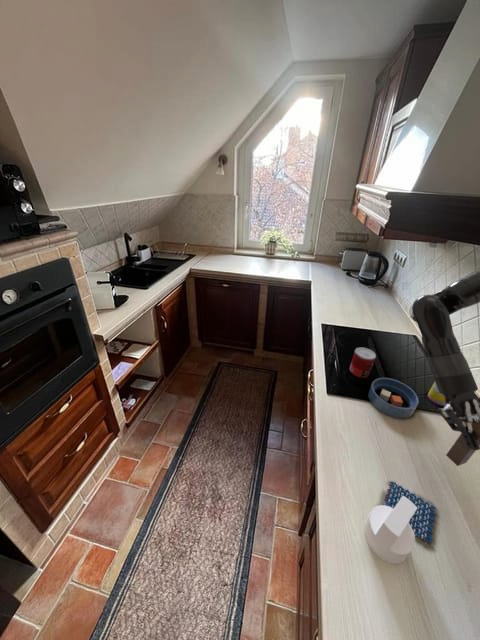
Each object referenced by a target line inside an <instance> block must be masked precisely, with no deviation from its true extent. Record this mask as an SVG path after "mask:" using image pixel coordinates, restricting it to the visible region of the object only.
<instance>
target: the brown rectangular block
mask: <svg viewBox="0 0 480 640" xmlns="http://www.w3.org/2000/svg"><path fill="white" fill-rule="evenodd" d="M471 424H472V428H473V433H474V434H475V437H476V439H477V441H478V444H479V446H480V424H479V423H478V422H474V423H471ZM476 451H477V450H473V449H469V448H468V447H467V445H466V443H465V440H464V438H463V435H462V433H461V432H460V434H459V436H458V437H457V439H456V440H455V441H454V443H453V445H452V446H451V447H450V449H449V450H448V452H447V453H446V454H445V456H446V457H447V458H448V459H449V460H450V461H451V462H452V463H454V465H456V466H457V467H459V466H462V465H465V464H466V463H467V462H468V461H469V460H470V459H471V458H472V457H473V455H474V453H475V452H476Z"/></svg>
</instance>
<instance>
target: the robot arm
mask: <svg viewBox="0 0 480 640" xmlns="http://www.w3.org/2000/svg"><path fill="white" fill-rule="evenodd" d="M479 303H480V269H479V270H477V271H475V272H472V273H470V274H468V275H466V276H464V277H461V278H459V279H458V280H455V281H454V282H452V283H450V284H449V285H447V286H445V288H443V289H441V290H439V291H437V292H435V293H433V294H425V295H422V296H419V297H417V298H416V299H415V300H414V301H413V303H412V304H411V306H410V308H409V316H410V318H411V320H413V321H414V322H415V323H416V324H417V327H418V329H419V332H420V334H421V344H422V347H423V350H424V352H425V355H426V358H427V361H428V365H429V370H430V373H431V374H432V377H433V380H434V382H436V385H437V388H438V390H439V393H440V394H443V395H444V396H445V403H446V406H443V408H442V407H439V408H438V413H439V414H440V416H441V417H442V418H443V420H444V421H445V423H447V425H448V426H449V428H450V429H451V430H452V431H454V432H460V434H461V433H462V435H463V438H464V440H465V443H466V445H467V447H468V448H469V449H473V450H476V451H479V450H480V446H479V444H478V441H477V439H476V437H475V434H474V433H473V428H472V424H471V423H474V422H478V423H479V424H480V396H478V394H477V393H476V392H477V391H478V389H479V387H478V385H477V383H476V380H475V377H474V375H473V372H472V371H471V368H470V366H469V362H468V361H467V359H466V356H465V355H464V353H463V352H462V349H461V346H460V344H459V342H458V339H457V337H456V336H455V334H454V330H453V323H452V320H451V315H452V314H455V313H457V312H459V311H460V310H462V309H467V308H470V307H472V306H475V305H477V304H479ZM464 424H465V425H464Z"/></svg>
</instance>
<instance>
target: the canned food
mask: <svg viewBox="0 0 480 640" xmlns="http://www.w3.org/2000/svg"><path fill="white" fill-rule="evenodd" d="M376 358H377V355H376V353H375V352H374V350H372V349H370V348H367V347H362V346H361V347H356V348H355V349H354V352H353V356H352V359H351V362H350V365H349V372H350V373H351V374H352V375H354V376H356V377H357V378H361V379H365V378H368V377H369V376H370V374H371V371H372V368H373V365H374V363H375V360H376Z"/></svg>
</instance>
